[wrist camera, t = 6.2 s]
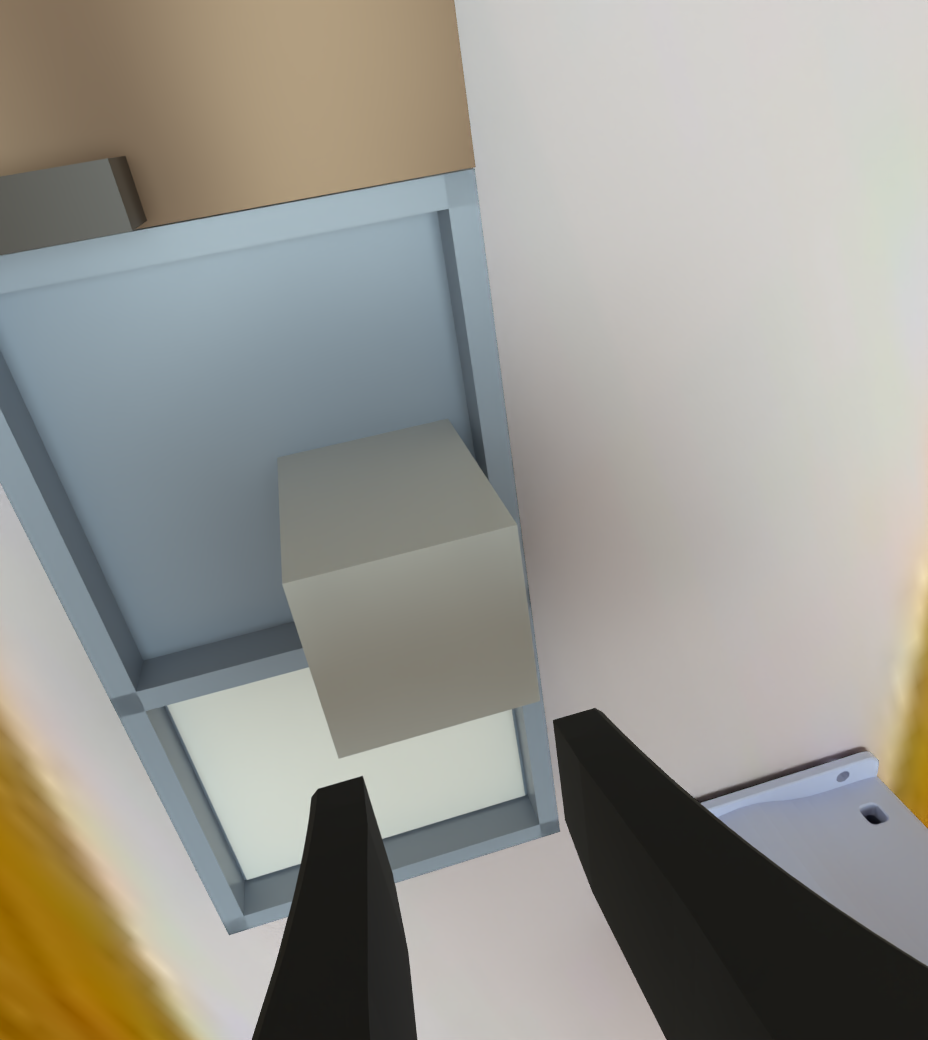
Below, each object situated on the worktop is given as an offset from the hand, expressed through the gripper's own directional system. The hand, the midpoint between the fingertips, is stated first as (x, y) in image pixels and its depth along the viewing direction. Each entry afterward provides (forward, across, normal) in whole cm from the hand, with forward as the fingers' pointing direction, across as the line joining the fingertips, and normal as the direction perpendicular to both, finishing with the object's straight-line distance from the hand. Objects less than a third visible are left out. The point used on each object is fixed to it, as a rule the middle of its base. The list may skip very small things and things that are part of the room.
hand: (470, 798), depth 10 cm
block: (+9, 0, 0) cm, 9 cm away
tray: (+9, +2, +2) cm, 10 cm away
